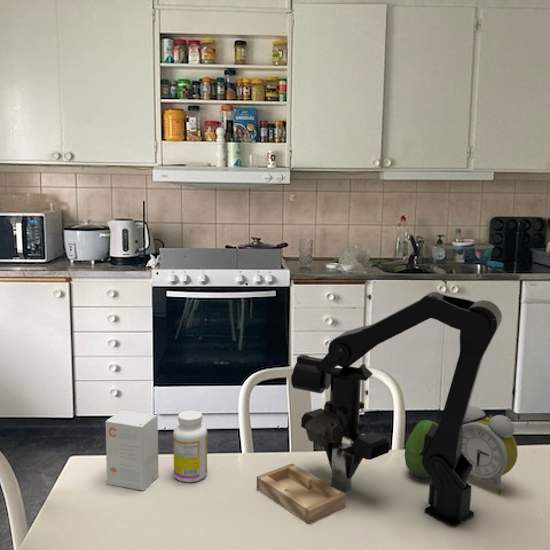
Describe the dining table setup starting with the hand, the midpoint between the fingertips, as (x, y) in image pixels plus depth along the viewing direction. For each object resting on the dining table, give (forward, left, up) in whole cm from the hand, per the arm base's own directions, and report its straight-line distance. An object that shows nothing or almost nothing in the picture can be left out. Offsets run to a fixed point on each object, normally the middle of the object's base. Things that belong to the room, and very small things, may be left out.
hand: (341, 473), depth 118 cm
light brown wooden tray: (+1, +10, -2) cm, 10 cm away
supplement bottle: (+21, +22, -3) cm, 30 cm away
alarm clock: (-16, -24, -3) cm, 29 cm away
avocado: (-7, -16, -3) cm, 18 cm away
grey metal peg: (0, 0, -2) cm, 2 cm away
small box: (+26, +32, -3) cm, 41 cm away
